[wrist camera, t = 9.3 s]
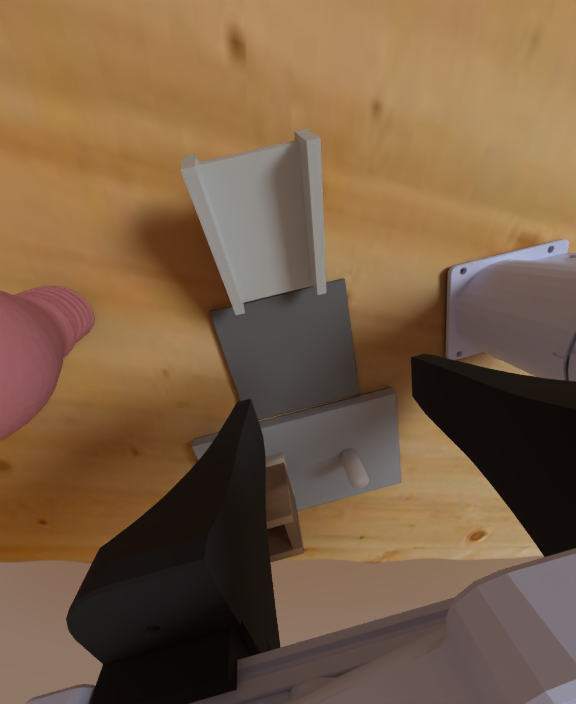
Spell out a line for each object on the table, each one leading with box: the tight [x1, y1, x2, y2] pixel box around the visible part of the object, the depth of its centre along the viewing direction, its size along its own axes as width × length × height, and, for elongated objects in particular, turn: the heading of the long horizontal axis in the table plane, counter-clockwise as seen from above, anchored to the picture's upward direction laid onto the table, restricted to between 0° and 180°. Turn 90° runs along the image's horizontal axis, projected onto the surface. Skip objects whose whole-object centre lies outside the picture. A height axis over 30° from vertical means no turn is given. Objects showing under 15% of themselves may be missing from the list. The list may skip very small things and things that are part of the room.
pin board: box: [192, 388, 401, 511], centre depth 24 cm, size 18×11×4 cm, turn 103°
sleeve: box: [266, 452, 304, 562], centre depth 22 cm, size 4×4×6 cm
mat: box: [210, 279, 359, 420], centre depth 21 cm, size 10×10×1 cm
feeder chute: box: [180, 129, 327, 315], centre depth 15 cm, size 6×8×6 cm
